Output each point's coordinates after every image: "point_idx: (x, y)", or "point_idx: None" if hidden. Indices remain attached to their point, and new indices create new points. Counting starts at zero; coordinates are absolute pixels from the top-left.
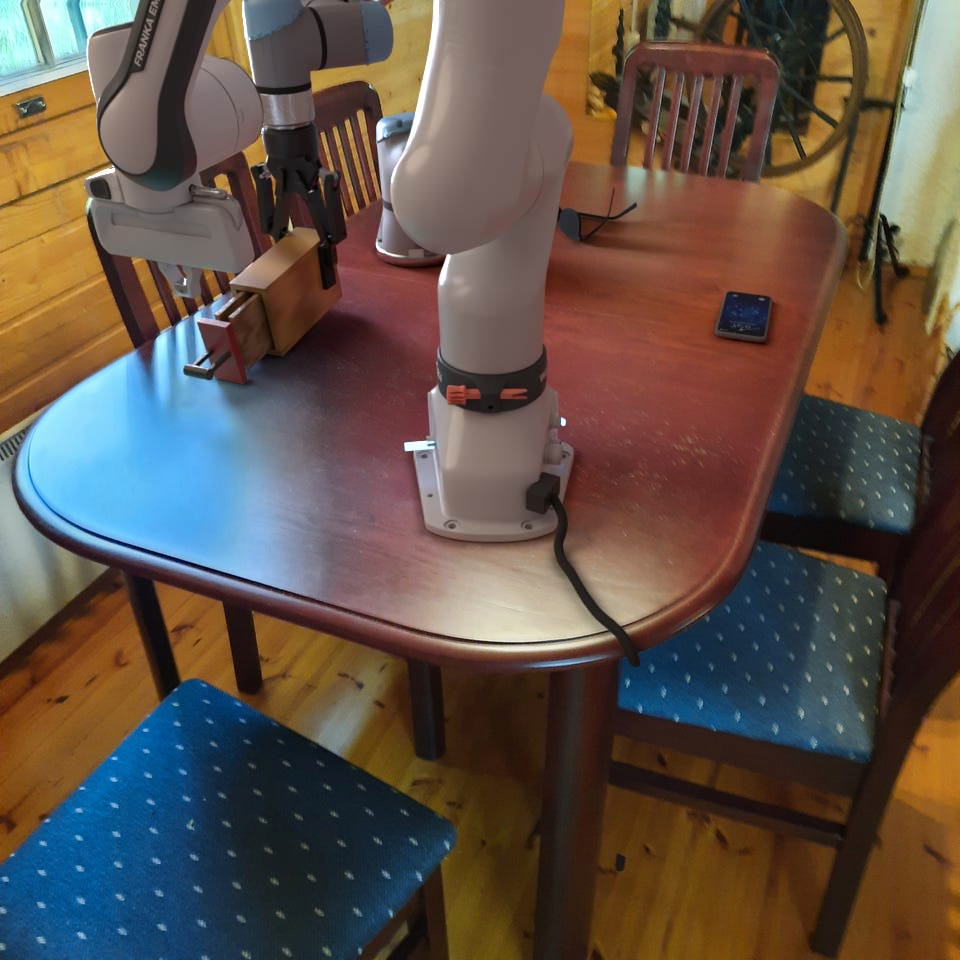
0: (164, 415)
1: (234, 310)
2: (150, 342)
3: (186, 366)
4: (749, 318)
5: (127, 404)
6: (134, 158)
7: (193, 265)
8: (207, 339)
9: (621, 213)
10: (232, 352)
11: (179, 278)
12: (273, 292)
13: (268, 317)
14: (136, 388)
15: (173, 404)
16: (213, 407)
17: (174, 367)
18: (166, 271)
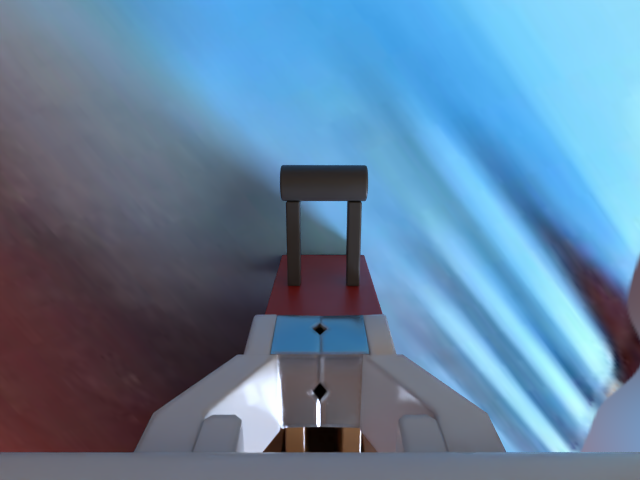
0: (380, 63)
1: (340, 433)
2: (618, 339)
3: (359, 179)
4: None
5: (510, 73)
6: None
7: (9, 462)
8: (356, 299)
9: None
10: (277, 287)
11: (364, 407)
12: None
13: (277, 450)
14: (532, 150)
15: (390, 118)
16: (284, 143)
17: (493, 265)
18: (420, 408)
